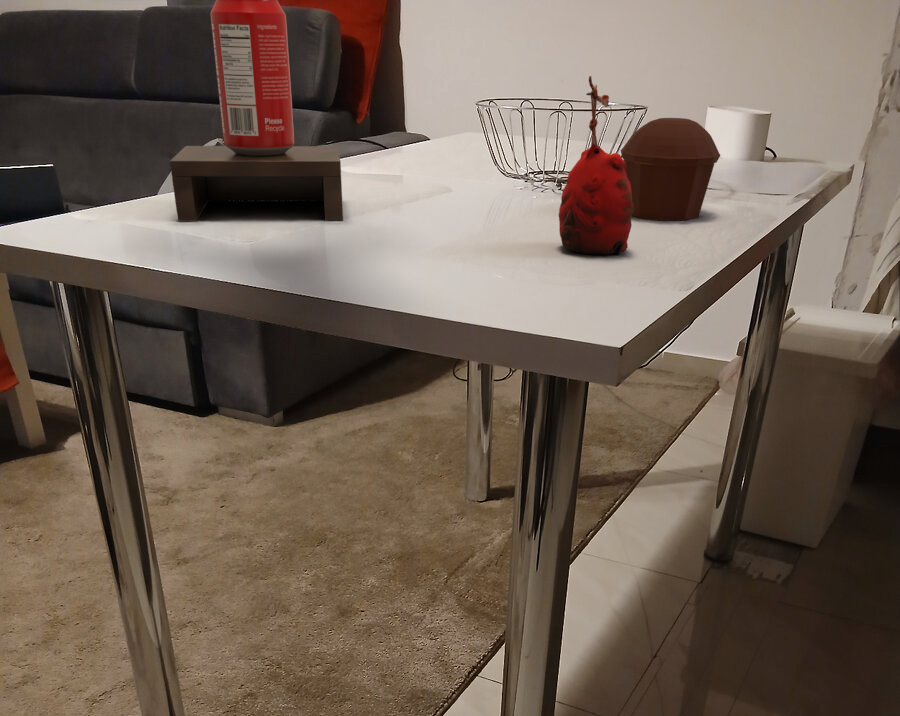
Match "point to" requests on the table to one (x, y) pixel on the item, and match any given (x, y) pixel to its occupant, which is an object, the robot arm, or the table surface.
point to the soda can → (253, 76)
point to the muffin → (669, 168)
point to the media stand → (256, 178)
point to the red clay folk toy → (596, 198)
